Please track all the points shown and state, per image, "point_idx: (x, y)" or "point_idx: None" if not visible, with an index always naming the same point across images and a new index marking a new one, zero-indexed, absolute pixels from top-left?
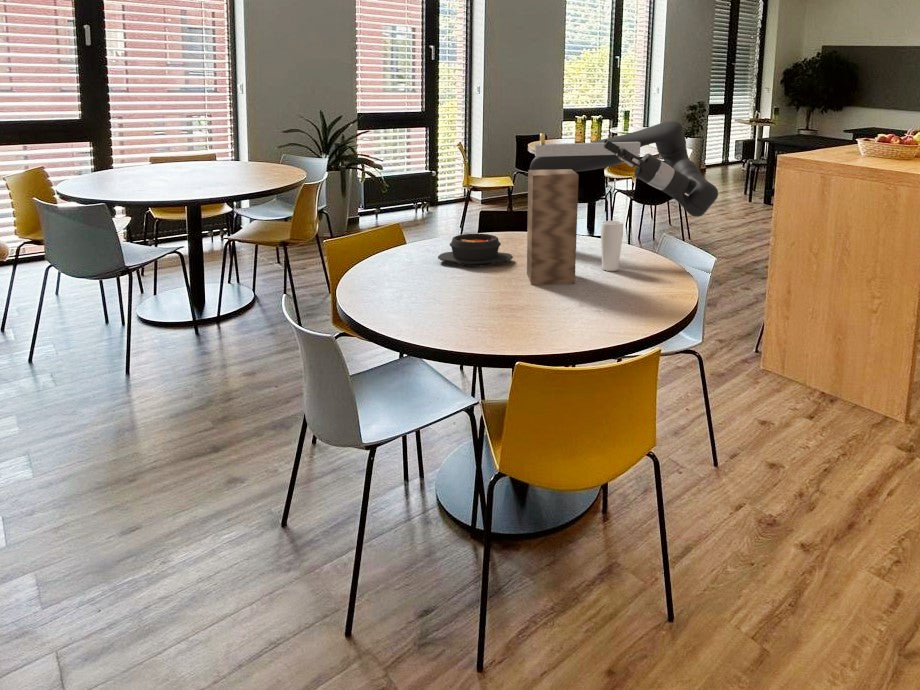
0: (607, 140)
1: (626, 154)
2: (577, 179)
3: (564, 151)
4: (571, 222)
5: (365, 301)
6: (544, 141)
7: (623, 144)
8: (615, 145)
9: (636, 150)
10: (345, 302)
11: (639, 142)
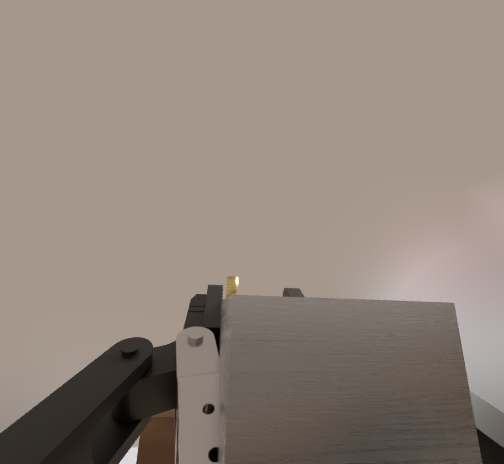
0: (287, 291)
1: (176, 430)
2: (141, 437)
3: None
4: None
5: (130, 459)
6: (228, 294)
7: (222, 313)
8: (203, 314)
9: (219, 450)
10: (134, 447)
11: (269, 296)
